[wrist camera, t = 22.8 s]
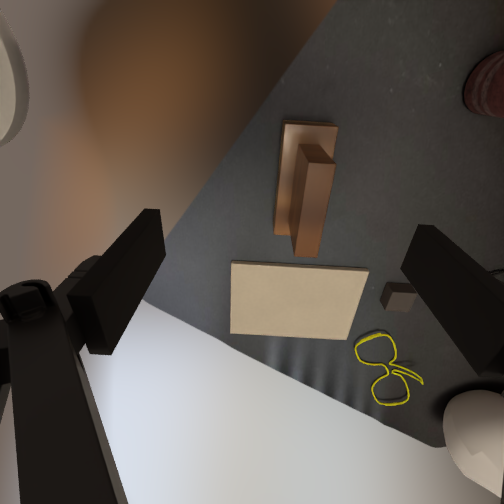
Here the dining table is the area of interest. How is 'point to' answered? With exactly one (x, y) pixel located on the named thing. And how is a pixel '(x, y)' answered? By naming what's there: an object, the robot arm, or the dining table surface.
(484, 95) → the can
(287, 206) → the brown stepped block
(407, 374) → the glasses
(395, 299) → the dark brown block
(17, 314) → the robot arm
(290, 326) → the tile
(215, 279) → the dining table surface
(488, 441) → the vase
